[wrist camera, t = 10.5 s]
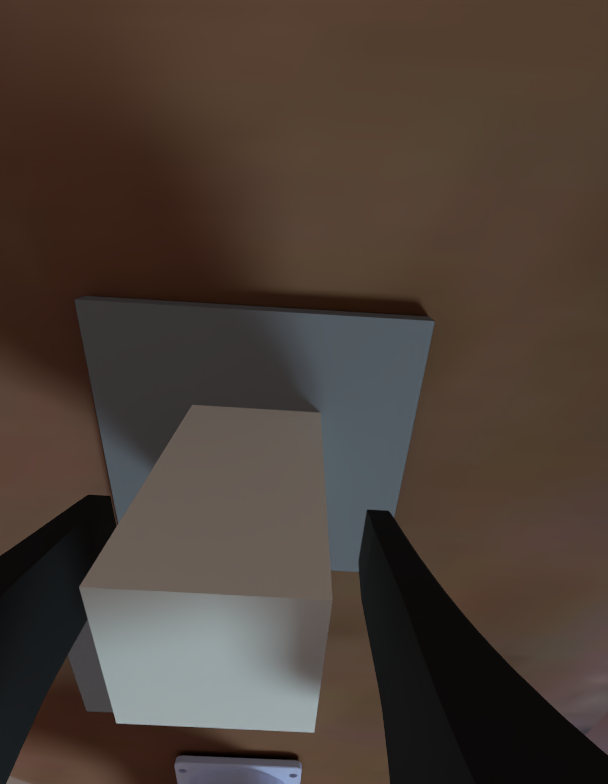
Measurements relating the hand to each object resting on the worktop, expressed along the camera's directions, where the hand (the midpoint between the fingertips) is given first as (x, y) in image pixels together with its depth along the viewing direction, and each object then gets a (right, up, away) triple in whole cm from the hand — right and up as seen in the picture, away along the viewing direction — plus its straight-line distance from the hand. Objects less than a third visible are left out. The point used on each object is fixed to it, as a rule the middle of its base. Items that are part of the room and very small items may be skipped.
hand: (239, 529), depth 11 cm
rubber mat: (0, +2, +4) cm, 4 cm away
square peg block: (0, +1, +3) cm, 3 cm away
